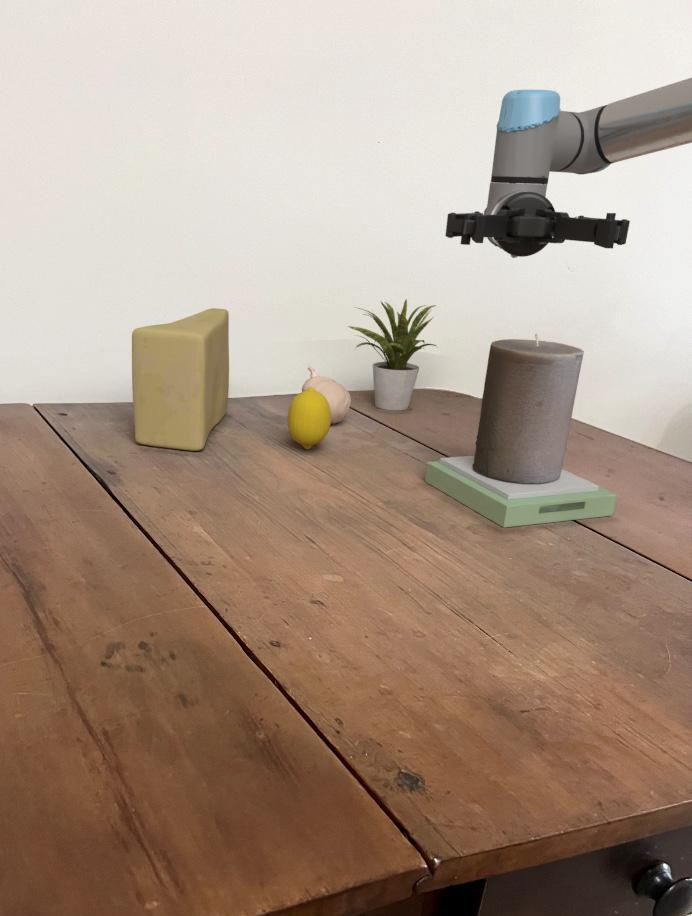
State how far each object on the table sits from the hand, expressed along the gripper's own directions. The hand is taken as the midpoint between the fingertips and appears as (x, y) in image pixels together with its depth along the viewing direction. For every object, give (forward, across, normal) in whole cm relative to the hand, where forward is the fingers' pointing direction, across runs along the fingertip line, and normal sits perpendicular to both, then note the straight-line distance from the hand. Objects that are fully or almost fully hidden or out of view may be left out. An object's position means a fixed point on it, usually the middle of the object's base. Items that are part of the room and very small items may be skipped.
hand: (545, 232), depth 98 cm
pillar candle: (+7, 0, -25) cm, 26 cm away
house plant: (-36, +14, -28) cm, 47 cm away
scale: (+7, 0, -28) cm, 28 cm away
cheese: (-13, +41, -28) cm, 51 cm away
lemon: (-7, +25, -28) cm, 38 cm away
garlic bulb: (-21, +24, -28) cm, 42 cm away
